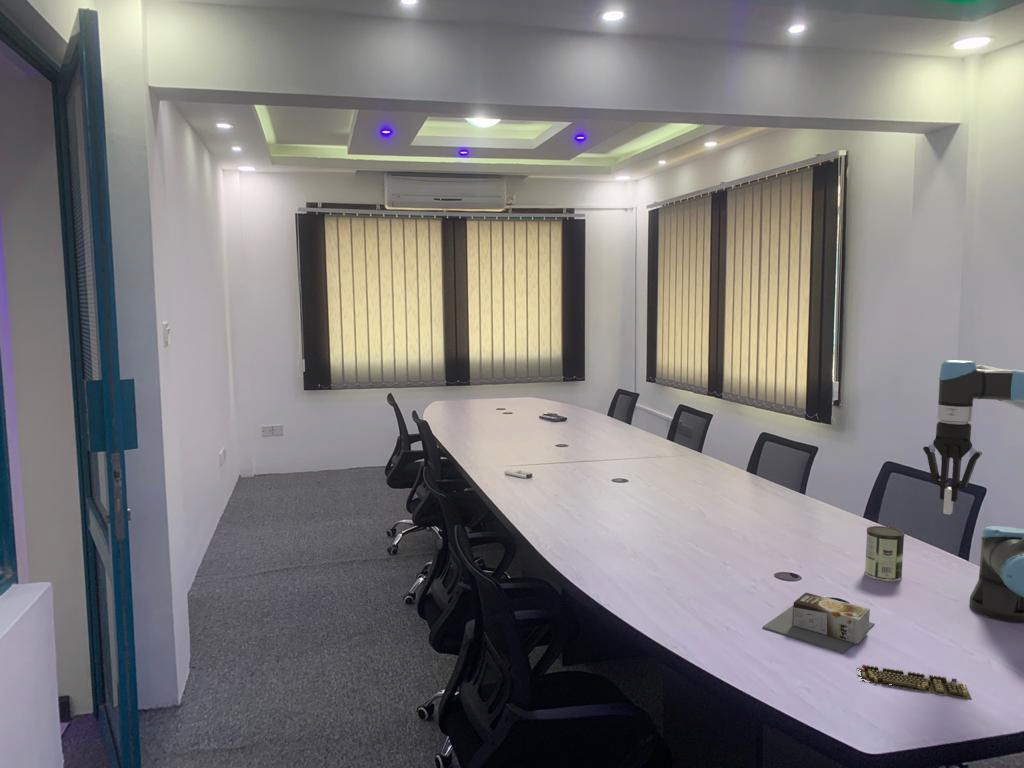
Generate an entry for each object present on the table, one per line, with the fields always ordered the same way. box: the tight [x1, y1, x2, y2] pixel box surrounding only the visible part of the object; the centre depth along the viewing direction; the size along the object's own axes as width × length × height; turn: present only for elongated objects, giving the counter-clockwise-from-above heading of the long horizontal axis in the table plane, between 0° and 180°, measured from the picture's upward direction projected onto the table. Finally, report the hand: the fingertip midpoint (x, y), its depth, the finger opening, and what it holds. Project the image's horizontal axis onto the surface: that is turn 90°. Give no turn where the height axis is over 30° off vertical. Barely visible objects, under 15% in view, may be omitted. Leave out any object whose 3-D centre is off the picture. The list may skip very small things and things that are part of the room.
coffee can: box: [864, 525, 905, 582], centre depth 224 cm, size 10×10×14 cm
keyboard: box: [856, 664, 972, 701], centre depth 161 cm, size 22×9×2 cm, turn 69°
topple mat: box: [762, 605, 875, 654], centre depth 189 cm, size 20×22×1 cm
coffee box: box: [792, 592, 871, 645], centre depth 186 cm, size 9×6×16 cm
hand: (947, 512), depth 188 cm, fingers closed
